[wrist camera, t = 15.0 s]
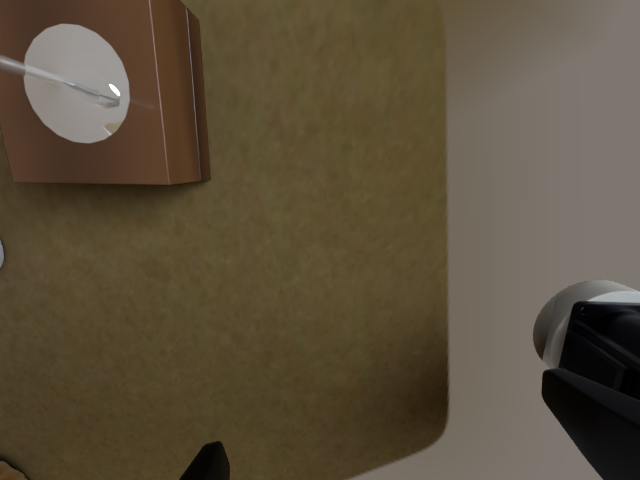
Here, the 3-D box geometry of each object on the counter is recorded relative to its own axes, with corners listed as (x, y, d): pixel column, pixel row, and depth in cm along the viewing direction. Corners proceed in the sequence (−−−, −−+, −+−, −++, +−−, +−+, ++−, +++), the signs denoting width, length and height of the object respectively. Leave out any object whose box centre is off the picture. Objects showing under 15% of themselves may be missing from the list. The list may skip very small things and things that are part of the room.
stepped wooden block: (199, 19, 17) (145, -37, 12) (211, 180, 19) (169, 185, 15) (17, 21, 18) (-103, -32, 13) (48, 177, 20) (-44, 181, 15)
